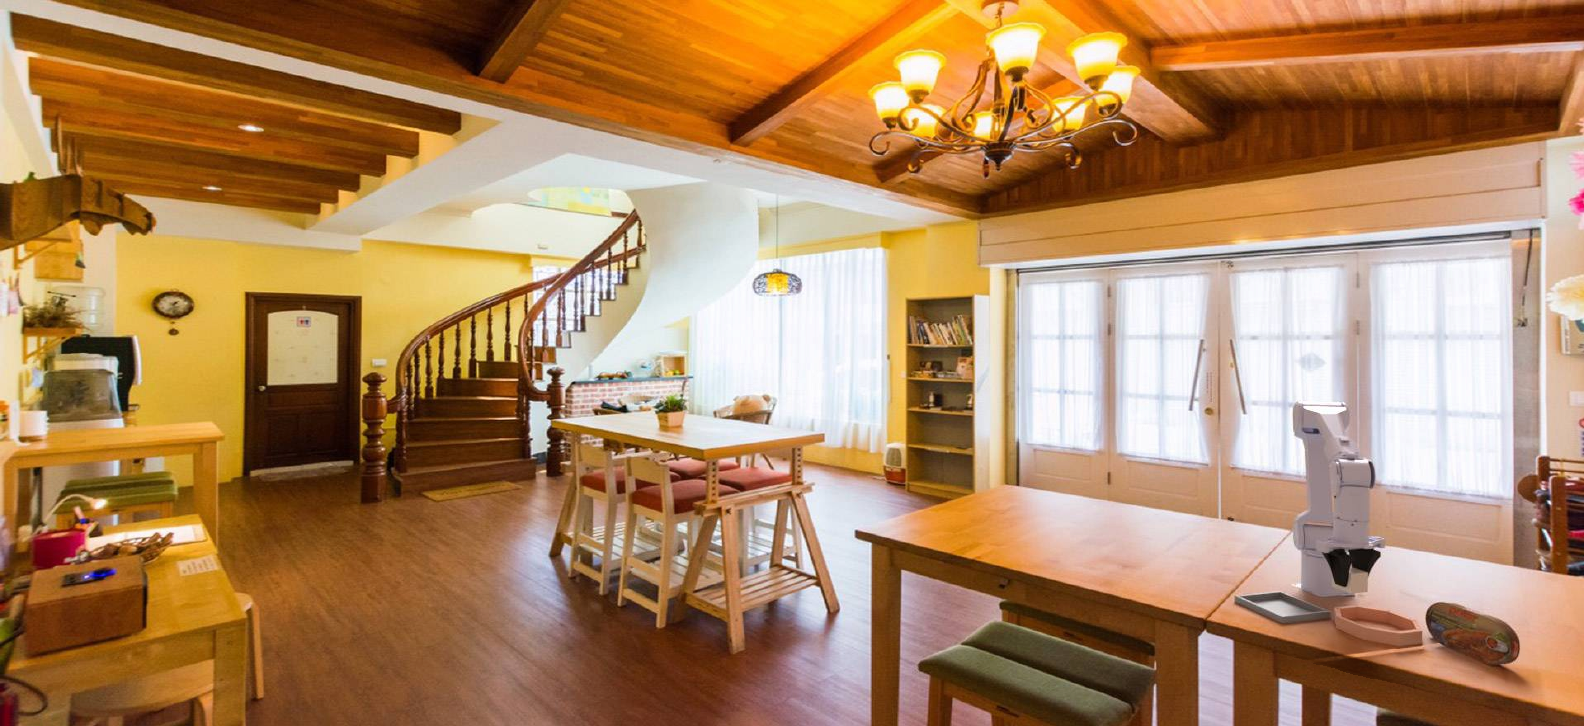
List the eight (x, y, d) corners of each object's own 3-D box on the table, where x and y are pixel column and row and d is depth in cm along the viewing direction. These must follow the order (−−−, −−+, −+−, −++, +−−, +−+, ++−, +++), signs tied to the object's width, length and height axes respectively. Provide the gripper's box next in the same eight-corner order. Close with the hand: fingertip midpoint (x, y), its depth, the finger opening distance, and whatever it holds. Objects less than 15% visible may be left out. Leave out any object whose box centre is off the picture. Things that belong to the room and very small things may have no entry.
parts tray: (1280, 599, 158) (1280, 590, 158) (1330, 620, 147) (1330, 611, 146) (1234, 604, 156) (1234, 595, 156) (1282, 626, 144) (1282, 616, 144)
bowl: (1370, 617, 148) (1370, 603, 148) (1437, 644, 135) (1438, 628, 135) (1318, 623, 145) (1319, 609, 145) (1382, 651, 133) (1383, 635, 132)
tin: (1423, 637, 138) (1424, 595, 138) (1438, 636, 139) (1439, 594, 138) (1507, 674, 123) (1508, 627, 123) (1523, 673, 124) (1524, 626, 123)
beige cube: (1348, 585, 145) (1348, 566, 145) (1367, 592, 141) (1368, 572, 141) (1332, 586, 144) (1332, 567, 144) (1351, 593, 141) (1351, 573, 140)
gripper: (1340, 525, 137) (1338, 594, 138) (1401, 521, 140) (1399, 588, 140) (1307, 516, 144) (1306, 581, 144) (1366, 512, 147) (1364, 576, 147)
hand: (1350, 584), depth 143 cm, fingers closed on beige cube, 4 cm apart
